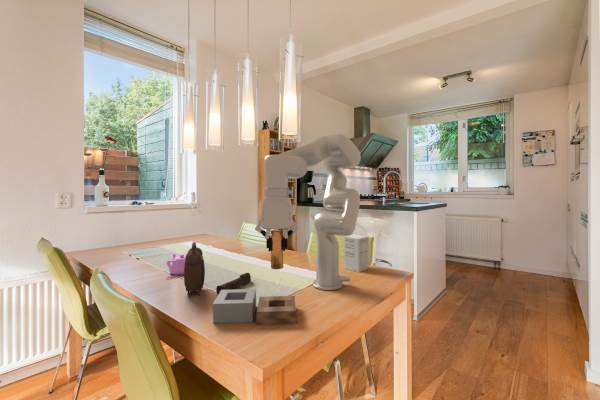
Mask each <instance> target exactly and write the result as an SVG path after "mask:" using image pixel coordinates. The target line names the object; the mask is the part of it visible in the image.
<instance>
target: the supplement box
mask: <svg viewBox="0 0 600 400" xmlns="http://www.w3.org/2000/svg"><path fill="white" fill-rule="evenodd" d="M343 243H344V247H343V250H344V251H343V252H344V255H343V256H344V257H343V263H344V264H343V265H344V268H343V269H345V270H347V271H348V270H349V271H353V272H356V273H360V272H363V271H366V270H369V268H370V236H367V235H361V234H352V235H349V236H344V237H343Z"/></svg>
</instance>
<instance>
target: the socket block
mask: <svg viewBox="0 0 600 400" xmlns="http://www.w3.org/2000/svg"><path fill="white" fill-rule="evenodd" d="M256 307H257V289H256V288H243V289H238V288H237V289H236V288H235V289H233V290H221V291H220V293H219V295H218V294H217V296H216V297H215V300H214V301H213V303H212V323H213V324H222V323H223V324H225V323H230V324H231V323H253V321H254V316H255V313H256V309H257V308H256Z"/></svg>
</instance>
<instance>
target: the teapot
mask: <svg viewBox="0 0 600 400" xmlns="http://www.w3.org/2000/svg"><path fill="white" fill-rule="evenodd" d="M185 257H186V255H185V254H184V253H183V254H179V255H178V256H177V255H176V253H174V252H172V260H171V259H168V260H167V261H166V265H167V267H168V269H169V270H168V271H169V273H171V275H175V276H183V275H182V274H184V264H185Z"/></svg>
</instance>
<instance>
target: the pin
mask: <svg viewBox="0 0 600 400" xmlns="http://www.w3.org/2000/svg"><path fill="white" fill-rule="evenodd" d="M283 236H284V233H283V229H271V230H270V238H271V251H270V269H271V270H272V269H273V270H282V269H284V251H283Z"/></svg>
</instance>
